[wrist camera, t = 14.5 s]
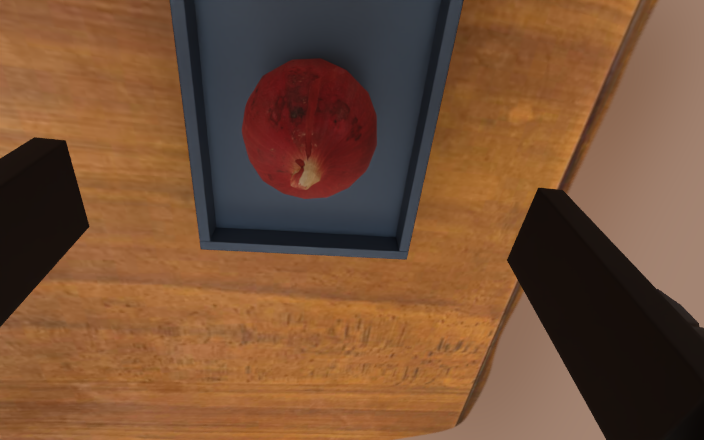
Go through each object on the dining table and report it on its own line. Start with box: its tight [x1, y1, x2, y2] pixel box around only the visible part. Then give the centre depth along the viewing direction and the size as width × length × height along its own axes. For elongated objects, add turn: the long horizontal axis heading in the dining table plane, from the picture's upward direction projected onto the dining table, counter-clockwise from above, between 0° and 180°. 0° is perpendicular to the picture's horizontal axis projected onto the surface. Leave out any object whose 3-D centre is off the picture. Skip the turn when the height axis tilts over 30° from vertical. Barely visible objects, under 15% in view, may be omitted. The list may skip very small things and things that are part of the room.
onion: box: [242, 58, 377, 199], centre depth 17 cm, size 6×6×8 cm
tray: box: [170, 0, 464, 259], centre depth 20 cm, size 17×12×2 cm
